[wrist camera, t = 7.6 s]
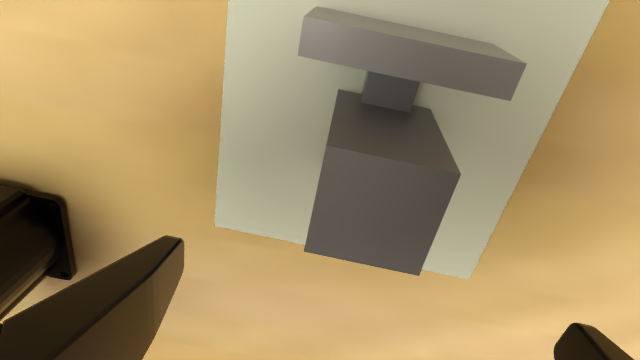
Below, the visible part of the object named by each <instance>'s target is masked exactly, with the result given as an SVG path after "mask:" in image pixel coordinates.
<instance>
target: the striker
mask: <svg viewBox="0 0 640 360" xmlns="http://www.w3.org/2000/svg"><path fill="white" fill-rule="evenodd" d="M298 56H301V57H306V58H310V59H315V60H320V61H324V62H329V63H334V64H338V65H343V66H348V67H353V68H357V69H362V70H367V73H366V77H365V81H364V85H363V89H362V93H361V94H358V93H353V92H349V91H344V90H339V89H338V93H337V97H336V102H335V107H334V111H333V116H332V121H331V125H330V130H329V135H328V139H327V144H326V149H325V153H324V158H323V163H322V168H321V172H320V177H319V182H318V186H317V191H316V196H315V201H314V205H313V210H312V215H311V219H310V224H309V229H308V234H307V238H306V243H305V248H304V252H309V253H314V254H319V255H323V256H328V257H333V258H337V259H342V260H347V261H352V262H356V263H361V264H366V265H370V266H375V267H380V268H385V269H389V270H394V271H399V272H403V273H408V274H413V275H418V276H419V274H420V272H421V270H422V267H423V265H424V262H425V260H426V258H427V255H428V253H429V250H430V248H431V246H432V243H433V241H434V238H435V236H436V233H437V231H438V229H439V226H440V224H441V221H442V219H443V217H444V214H445V212H446V209H447V207H448V205H449V202H450V200H451V197H452V195H453V193H454V190H455V188H456V185H457V183H458V181H459V178H460V176H461V173H460V171H459V169H458V167H457V164H456V162H455V160H454V158H453V156H452V154H451V152H450V150H449V147H448V145H447V143H446V141H445V139H444V137H443V135H442V133H441V130H440V128H439V126H438V124H437V122H436V120H435V118H434V115H433V113H432V111H431V109H429V108H424V107H419V106H414V105H413V103H414V100H415V97H416V94H417V90H418V87H419V84H420V82H423V83H428V84H432V85H437V86H442V87H446V88H451V89H456V90H461V91H465V92H470V93H475V94H479V95H484V96H489V97H493V98H498V99H503V100H507V101H511V99H512V97H513V95H514V92H515V90H516V88H517V86H518V83H519V81H520V79H521V77H522V74H523V72H524V70H525V67H526V65H527V63H525V62H523V61H521V60H520V59H518V58H516V57H515V56H513V55H511V54H510V53H508V52H506V51H504V50H503V49H501V48H499V47H498V46H496V45H494V44H491V43H487V42H482V41H477V40H473V39H468V38H463V37H459V36H454V35H449V34H445V33H440V32H435V31H430V30H426V29H421V28H416V27H412V26H407V25H402V24H398V23H393V22H388V21H384V20H379V19H374V18H370V17H365V16H360V15H355V14H351V13H346V12H341V11H337V10H332V9H327V8H323V7H318V6H316V7H315V8H313V9H312V10H311V11H309V12H308V13H307V14H306V15H304V17H303V23H302V30H301V36H300V43H299V49H298Z"/></svg>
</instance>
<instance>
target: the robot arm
mask: <svg viewBox="0 0 640 360" xmlns="http://www.w3.org/2000/svg"><path fill="white" fill-rule="evenodd" d="M183 269H184V241H183V240H182V239H181V238H177V237H172V236H163V237H161V238H159V239H157V240H155V241H153V242H151V243H150V244H148V245H146V246H144V247H142V248H140V249H138V250H136V251H134V252H133V253H131V254H129V255H127V256H125V257H123V258H121V259H119V260H118V261H116V262H114V263H112V264H110V265H108V266H106V267H104V268H102V269H101V270H99V271H97V272H95V273H93V274H91V275H89V276H87V277H86V278H84V279H82V280H80V281H78V282H76V283H74V284H72V285H70V286H69V287H67V288H65V289H63V290H61V291H59V292H57V293H55V294H54V295H52V296H50V297H48V298H46V299H44V300H42V301H40V302H38V303H37V304H35V305H33V306H31V307H29V308H27V309H25V310H23V311H22V312H20V313H18V314H16V315H14V316H12V317H10V318H8V319H6V320H5V321H4V322H3V324H1V323H0V360H142V359H143V357H144V355H145V353H146V352H147V350H148V348H149V347H150V345H151V343H152V341H153V339H154V337H155V335H156V333H157V331H158V329H159V327H160V324H161V322H162V320H163V317H164V315H165V313H166V310H167V308H168V306H169V304H170V301H171V299H172V297H173V294H174V292H175V290H176V287H177V285H178V283H179V281H180V278H181V276H182V273H183ZM75 274H76V269H75V263H74V257H73V251H72V245H71V239H70V233H69V227H68V221H67V215H66V209H65V204H64V202H63V201H62V199H60V198H59V197H56V196H52V195H48V194H43V193H38V192H33V191H29V190H24V189H19V188H15V187H10V186H5V185H0V321H1V320H2V319H3V318H4V317H5V316H6V315H7V314H8V313H9V312H10V311H11V310H12V309H13V308H14V307H15V306H16V305H17V304H18V303H19V302H20V301H21V300H22V299H23V298H24V297H25V296H27V295H28V294H29V293H30V292H31V291H32V290H33V289H34V288H35V287H36V286H37V285H38V284H39V283H40V282H41V281H42V280H43V279H44V278H45V277H46V276H49V277H54V278H59V279H63V280H71V279H72V277H73V276H74V275H75ZM554 359H555V360H634V359H633V358H631V357H630V356H629V355H628V354H627V353H625V352H624V351H623V350H622V349H621V348H619V347H618V346H617V345H616V344H614V343H613V342H612V341H611V340H610V339H608V338H607V337H606V336H605V335H604V334H602V333H601V332H600V331H599V330H597V329H596V328H595V327H593V326H590V325H586V324H581V323H572V324H570V325H569V327H568V328H567V329H566V331H565V332H564V333H563V335H562V336H561V337H560V339H559V340H558V341H557V343H556V344H555V347H554Z"/></svg>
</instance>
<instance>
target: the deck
mask: <svg viewBox="0 0 640 360" xmlns="http://www.w3.org/2000/svg"><path fill="white" fill-rule="evenodd" d="M609 1H610V0H228V16H227V31H226V47H225V63H224V79H223V95H222V111H221V126H220V142H219V158H218V174H217V190H216V206H215V221H214V226H218V227H222V228H227V229H232V230H236V231H241V232H246V233H251V234H255V235H260V236H265V237H269V238H274V239H279V240H284V241H288V242H293V243H298V244H302V245H305V243H306V238H307V234H308V229H309V224H310V219H311V215H312V210H313V205H314V201H315V196H316V191H317V186H318V182H319V177H320V172H321V168H322V163H323V158H324V153H325V149H326V144H327V139H328V135H329V130H330V125H331V121H332V116H333V111H334V107H335V102H336V97H337V93H338V89H339V90H344V91H349V92H353V93H358V94H361V93H362V89H363V85H364V81H365V77H366V73H367V70H362V69H357V68H353V67H348V66H343V65H338V64H334V63H329V62H324V61H320V60H315V59H310V58H306V57H301V56H298V49H299V43H300V36H301V30H302V23H303V17H304V15H306V14H307V13H308V12H309V11H311V10H312V9H313V8H315V7H316V6H318V7H323V8H327V9H332V10H337V11H341V12H346V13H351V14H355V15H360V16H365V17H370V18H374V19H379V20H384V21H388V22H393V23H398V24H402V25H407V26H412V27H416V28H421V29H426V30H430V31H435V32H440V33H445V34H449V35H454V36H459V37H463V38H468V39H473V40H477V41H482V42H487V43H491V44H494V45H496V46H498V47H499V48H501V49H503V50H504V51H506V52H508V53H510V54H511V55H513V56H515V57H516V58H518V59H520V60H521V61H523V62H525V63H527V65H526V67H525V70H524V72H523V74H522V77H521V79H520V81H519V83H518V86H517V88H516V90H515V92H514V95H513V97H512V99H511V101H507V100H503V99H498V98H493V97H489V96H484V95H479V94H475V93H470V92H465V91H461V90H456V89H451V88H446V87H442V86H437V85H432V84H428V83H423V82H420V84H419V87H418V90H417V94H416V97H415V100H414V103H413V105H414V106H419V107H424V108H429V109H431V111H432V113H433V115H434V118H435V120H436V122H437V124H438V126H439V128H440V130H441V133H442V135H443V137H444V139H445V141H446V143H447V145H448V147H449V150H450V152H451V154H452V156H453V158H454V160H455V162H456V164H457V167H458V169H459V171H460V173H461V176H460V178H459V181H458V183H457V185H456V188H455V190H454V193H453V195H452V197H451V200H450V202H449V205H448V207H447V209H446V212H445V214H444V217H443V219H442V221H441V224H440V226H439V229H438V231H437V233H436V236H435V238H434V241H433V243H432V246H431V248H430V250H429V253H428V255H427V258H426V260H425V262H424V265H423V267H422V270H425V271H430V272H434V273H439V274H444V275H448V276H453V277H458V278H463V279H467V280H469V279H470V277H471V275H472V273H473V271H474V269H475V267H476V265H477V263H478V261H479V259H480V257H481V255H482V253H483V251H484V249H485V247H486V245H487V243H488V241H489V239H490V237H491V235H492V233H493V231H494V229H495V227H496V225H497V223H498V221H499V219H500V217H501V215H502V213H503V211H504V209H505V207H506V205H507V203H508V201H509V199H510V197H511V195H512V193H513V191H514V189H515V187H516V185H517V183H518V181H519V179H520V177H521V175H522V173H523V171H524V170H525V168H526V166H527V164H528V162H529V160H530V158H531V156H532V154H533V152H534V150H535V148H536V146H537V144H538V142H539V140H540V138H541V136H542V134H543V132H544V130H545V128H546V126H547V124H548V122H549V120H550V118H551V116H552V114H553V112H554V110H555V108H556V106H557V104H558V102H559V100H560V98H561V96H562V94H563V92H564V90H565V88H566V86H567V84H568V82H569V80H570V78H571V76H572V74H573V72H574V70H575V68H576V66H577V64H578V62H579V61H580V59H581V57H582V55H583V53H584V51H585V49H586V47H587V45H588V43H589V41H590V39H591V37H592V35H593V33H594V31H595V29H596V27H597V25H598V23H599V21H600V19H601V17H602V15H603V13H604V11H605V9H606V7H607V5H608V3H609Z"/></svg>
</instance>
